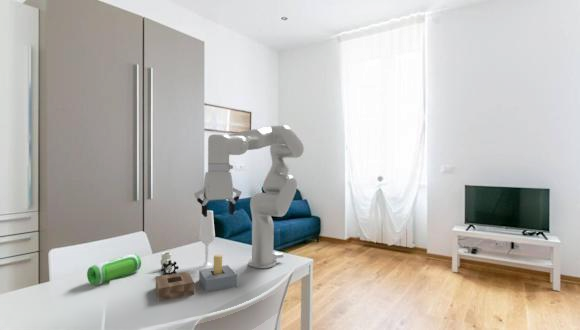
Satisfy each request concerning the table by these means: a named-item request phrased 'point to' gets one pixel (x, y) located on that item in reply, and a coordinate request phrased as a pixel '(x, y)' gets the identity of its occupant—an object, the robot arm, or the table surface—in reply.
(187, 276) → the mount
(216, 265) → the pin
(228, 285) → the socket
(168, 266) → the valve
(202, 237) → the champagne flute
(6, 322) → the table surface
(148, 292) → the table surface
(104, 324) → the table surface
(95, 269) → the speaker
